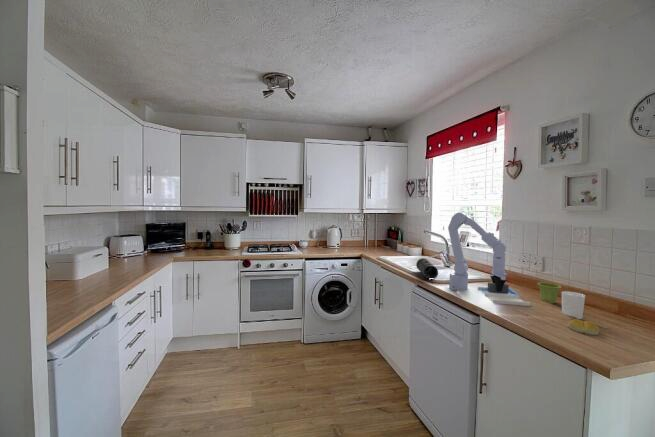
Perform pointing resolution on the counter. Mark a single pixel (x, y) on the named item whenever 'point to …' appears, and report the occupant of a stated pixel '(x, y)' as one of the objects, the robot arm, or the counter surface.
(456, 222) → the robot arm
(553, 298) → the plant pot
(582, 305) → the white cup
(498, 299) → the tray
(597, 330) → the bread roll
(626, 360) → the counter surface
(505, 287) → the dark gray rectangular block
